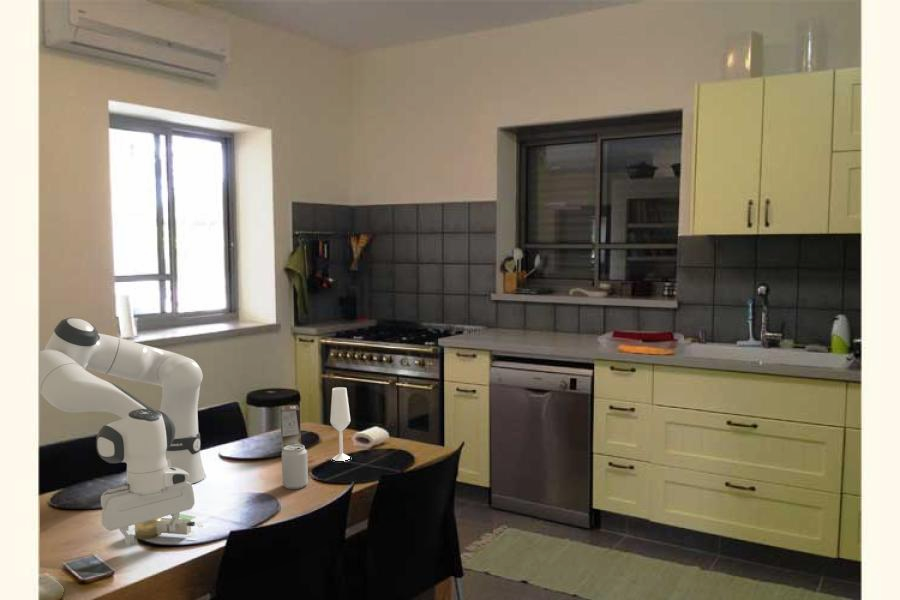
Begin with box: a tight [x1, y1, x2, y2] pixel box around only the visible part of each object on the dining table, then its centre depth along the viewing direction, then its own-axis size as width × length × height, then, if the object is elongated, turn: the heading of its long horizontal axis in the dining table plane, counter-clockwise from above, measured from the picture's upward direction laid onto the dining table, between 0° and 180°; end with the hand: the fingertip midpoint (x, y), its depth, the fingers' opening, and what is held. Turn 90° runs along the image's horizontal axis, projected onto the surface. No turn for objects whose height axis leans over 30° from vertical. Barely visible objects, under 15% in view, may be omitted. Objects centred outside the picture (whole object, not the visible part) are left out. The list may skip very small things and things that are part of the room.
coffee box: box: [279, 404, 302, 453], centre depth 241 cm, size 9×6×16 cm
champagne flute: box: [329, 386, 351, 462], centre depth 233 cm, size 7×7×24 cm
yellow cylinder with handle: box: [134, 517, 196, 540], centre depth 168 cm, size 15×6×5 cm, turn 78°
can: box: [281, 444, 309, 490], centre depth 207 cm, size 8×8×12 cm
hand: (150, 537), depth 162 cm, fingers open, 8 cm apart
